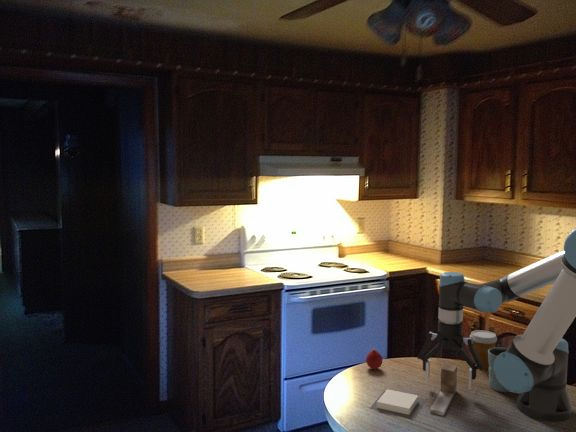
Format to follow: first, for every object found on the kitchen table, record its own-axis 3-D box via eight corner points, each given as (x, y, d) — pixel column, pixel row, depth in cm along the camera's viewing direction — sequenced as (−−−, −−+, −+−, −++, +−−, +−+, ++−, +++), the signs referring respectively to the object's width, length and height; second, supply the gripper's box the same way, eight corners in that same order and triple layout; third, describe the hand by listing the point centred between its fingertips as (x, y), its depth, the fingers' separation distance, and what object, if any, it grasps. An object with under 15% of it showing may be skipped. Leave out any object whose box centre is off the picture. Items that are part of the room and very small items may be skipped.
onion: (383, 367, 202) (383, 346, 201) (381, 373, 196) (381, 352, 195) (367, 366, 203) (367, 345, 203) (364, 372, 198) (365, 350, 197)
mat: (426, 400, 175) (426, 399, 175) (415, 419, 163) (415, 418, 163) (384, 391, 182) (384, 390, 182) (369, 409, 169) (369, 408, 169)
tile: (418, 395, 173) (409, 408, 164) (418, 402, 173) (409, 415, 165) (387, 389, 178) (377, 401, 169) (387, 395, 178) (376, 408, 169)
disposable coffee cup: (469, 369, 200) (470, 337, 199) (467, 359, 209) (468, 329, 208) (497, 371, 198) (499, 339, 196) (494, 361, 207) (495, 330, 206)
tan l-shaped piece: (456, 392, 181) (457, 365, 180) (443, 416, 164) (444, 387, 163) (443, 389, 183) (444, 363, 182) (429, 414, 166) (430, 385, 165)
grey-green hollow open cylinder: (481, 386, 186) (482, 351, 184) (496, 378, 192) (497, 344, 191) (510, 396, 178) (511, 360, 177) (524, 387, 185) (526, 352, 183)
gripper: (493, 322, 175) (490, 387, 177) (414, 312, 186) (413, 373, 189) (489, 329, 168) (487, 396, 170) (408, 318, 180) (407, 381, 182)
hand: (448, 384), depth 179 cm, fingers open, 13 cm apart
